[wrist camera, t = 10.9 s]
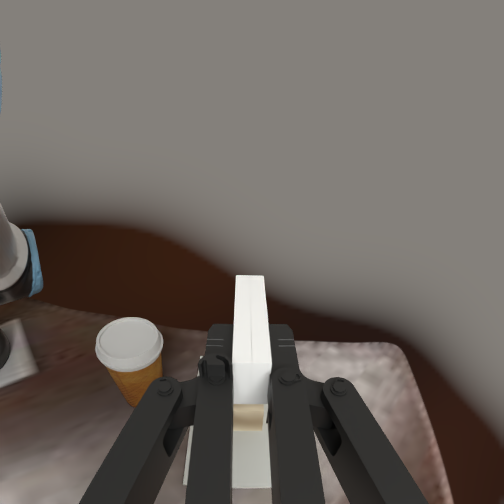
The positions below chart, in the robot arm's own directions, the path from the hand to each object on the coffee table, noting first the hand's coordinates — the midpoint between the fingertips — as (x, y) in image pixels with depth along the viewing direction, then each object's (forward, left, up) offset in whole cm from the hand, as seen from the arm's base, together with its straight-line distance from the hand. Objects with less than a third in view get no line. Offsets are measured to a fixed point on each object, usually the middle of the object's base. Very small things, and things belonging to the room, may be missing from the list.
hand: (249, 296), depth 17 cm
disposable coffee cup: (-20, -6, -29) cm, 35 cm away
